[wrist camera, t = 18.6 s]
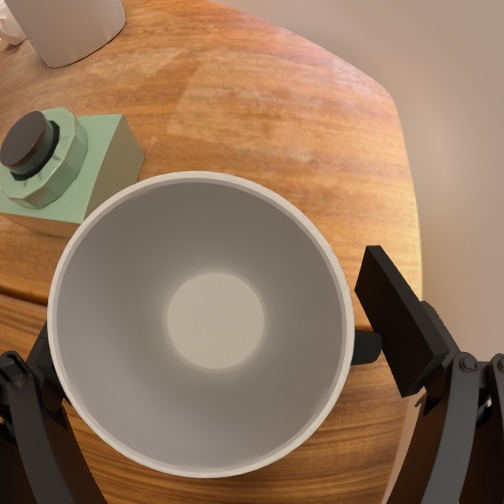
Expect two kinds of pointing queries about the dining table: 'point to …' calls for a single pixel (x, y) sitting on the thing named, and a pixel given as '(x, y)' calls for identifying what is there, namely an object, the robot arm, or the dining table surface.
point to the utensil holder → (67, 26)
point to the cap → (29, 145)
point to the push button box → (73, 173)
